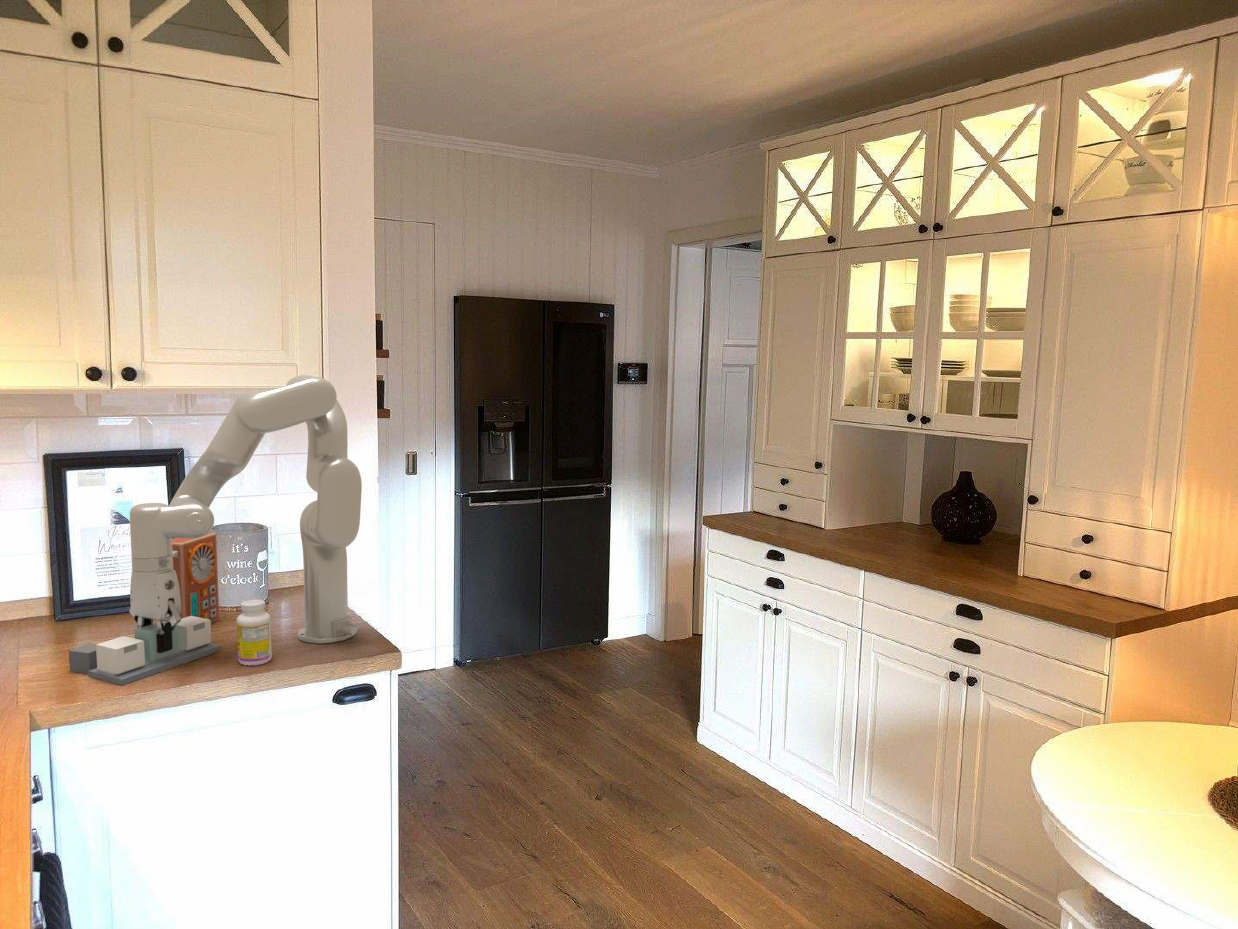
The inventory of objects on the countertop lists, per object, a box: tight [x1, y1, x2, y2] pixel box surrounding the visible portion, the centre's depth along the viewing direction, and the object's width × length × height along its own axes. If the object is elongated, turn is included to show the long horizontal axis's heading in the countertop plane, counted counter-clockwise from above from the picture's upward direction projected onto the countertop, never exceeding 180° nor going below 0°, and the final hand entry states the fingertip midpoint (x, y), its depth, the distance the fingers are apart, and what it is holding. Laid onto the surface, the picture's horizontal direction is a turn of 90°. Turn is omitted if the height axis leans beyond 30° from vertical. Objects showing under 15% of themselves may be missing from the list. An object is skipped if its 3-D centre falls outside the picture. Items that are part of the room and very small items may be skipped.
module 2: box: [134, 621, 178, 661], centre depth 186 cm, size 4×6×6 cm
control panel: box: [164, 532, 221, 624], centre depth 209 cm, size 21×7×15 cm
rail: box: [100, 643, 209, 676], centre depth 186 cm, size 4×22×1 cm, turn 155°
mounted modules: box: [95, 616, 212, 674], centre depth 186 cm, size 6×22×5 cm, turn 155°
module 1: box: [68, 642, 97, 675], centre depth 182 cm, size 5×5×4 cm
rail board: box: [88, 642, 221, 686], centre depth 186 cm, size 10×23×1 cm, turn 155°
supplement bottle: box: [236, 598, 273, 666], centre depth 188 cm, size 7×7×13 cm
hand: (156, 648), depth 186 cm, fingers closed on module 2, 4 cm apart
